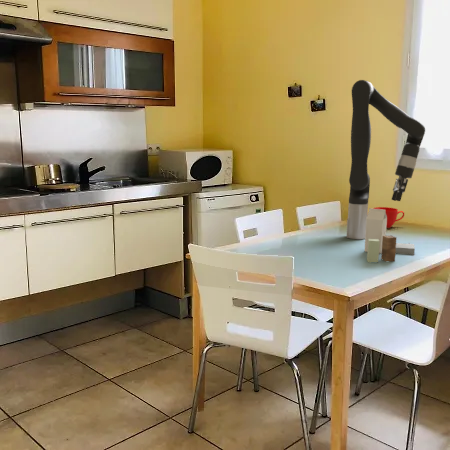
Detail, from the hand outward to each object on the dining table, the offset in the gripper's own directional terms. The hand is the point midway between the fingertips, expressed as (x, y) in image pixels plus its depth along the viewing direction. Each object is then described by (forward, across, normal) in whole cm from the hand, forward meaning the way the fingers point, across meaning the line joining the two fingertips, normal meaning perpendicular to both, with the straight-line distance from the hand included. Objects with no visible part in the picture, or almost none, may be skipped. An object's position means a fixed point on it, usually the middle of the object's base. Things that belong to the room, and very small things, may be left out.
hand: (395, 200), depth 241 cm
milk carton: (+25, +12, -5) cm, 28 cm away
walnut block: (+26, +27, -1) cm, 37 cm away
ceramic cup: (+14, -44, +9) cm, 47 cm away
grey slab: (+22, +11, +8) cm, 25 cm away
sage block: (+28, +30, -8) cm, 41 cm away
